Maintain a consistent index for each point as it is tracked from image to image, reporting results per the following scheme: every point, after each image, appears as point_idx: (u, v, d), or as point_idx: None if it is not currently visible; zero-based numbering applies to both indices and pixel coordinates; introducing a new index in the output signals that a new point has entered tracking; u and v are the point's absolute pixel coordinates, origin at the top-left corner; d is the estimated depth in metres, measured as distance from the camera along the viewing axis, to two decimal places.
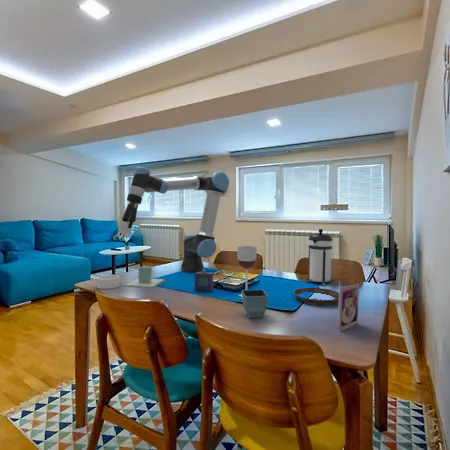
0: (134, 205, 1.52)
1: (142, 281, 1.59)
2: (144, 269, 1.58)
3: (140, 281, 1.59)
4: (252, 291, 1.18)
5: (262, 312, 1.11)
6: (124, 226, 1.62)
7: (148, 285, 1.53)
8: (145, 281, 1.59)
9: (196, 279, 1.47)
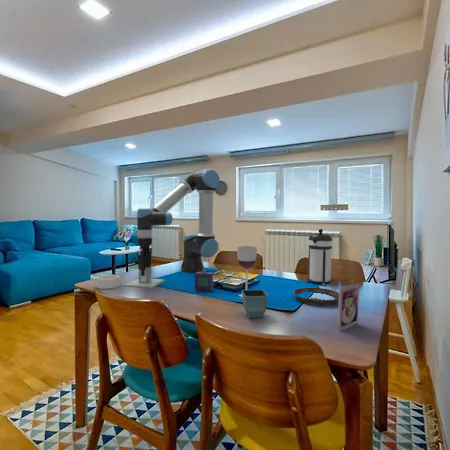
0: (138, 254, 1.53)
1: None
2: None
3: (140, 281, 1.59)
4: (252, 291, 1.18)
5: (262, 312, 1.11)
6: None
7: (148, 285, 1.53)
8: None
9: (196, 279, 1.47)
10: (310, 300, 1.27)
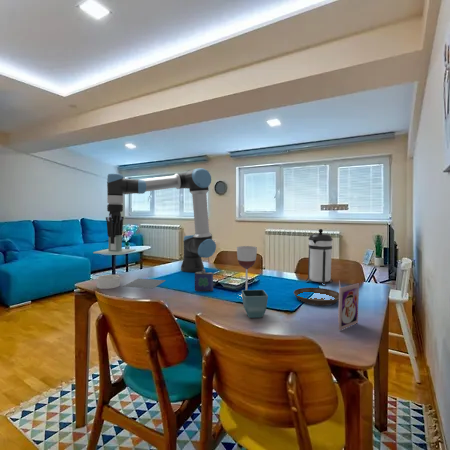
0: (107, 220, 1.47)
1: None
2: None
3: (110, 249, 1.53)
4: (252, 291, 1.18)
5: (262, 312, 1.11)
6: None
7: (117, 252, 1.47)
8: None
9: (196, 279, 1.47)
10: (310, 300, 1.27)
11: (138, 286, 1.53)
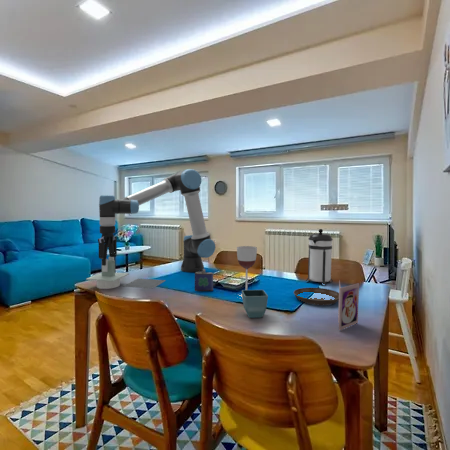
0: (99, 241, 1.47)
1: (105, 275, 1.53)
2: None
3: (103, 275, 1.53)
4: (252, 291, 1.18)
5: (262, 312, 1.11)
6: None
7: (110, 279, 1.47)
8: (108, 275, 1.53)
9: (196, 279, 1.47)
10: (310, 300, 1.27)
11: (138, 286, 1.53)
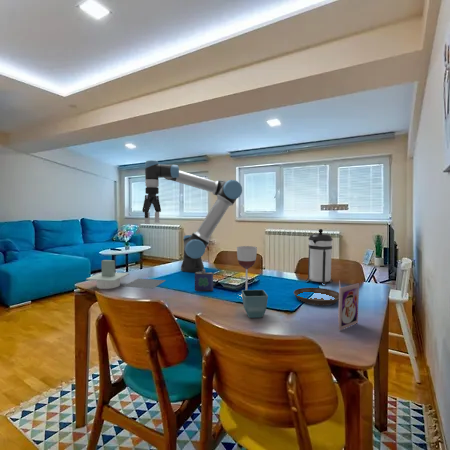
0: (145, 197, 1.69)
1: (105, 275, 1.53)
2: (107, 262, 1.52)
3: (103, 275, 1.53)
4: (252, 291, 1.18)
5: (262, 312, 1.11)
6: (157, 216, 1.82)
7: (110, 279, 1.47)
8: (108, 275, 1.53)
9: (196, 279, 1.47)
10: (309, 300, 1.27)
11: (138, 286, 1.53)
